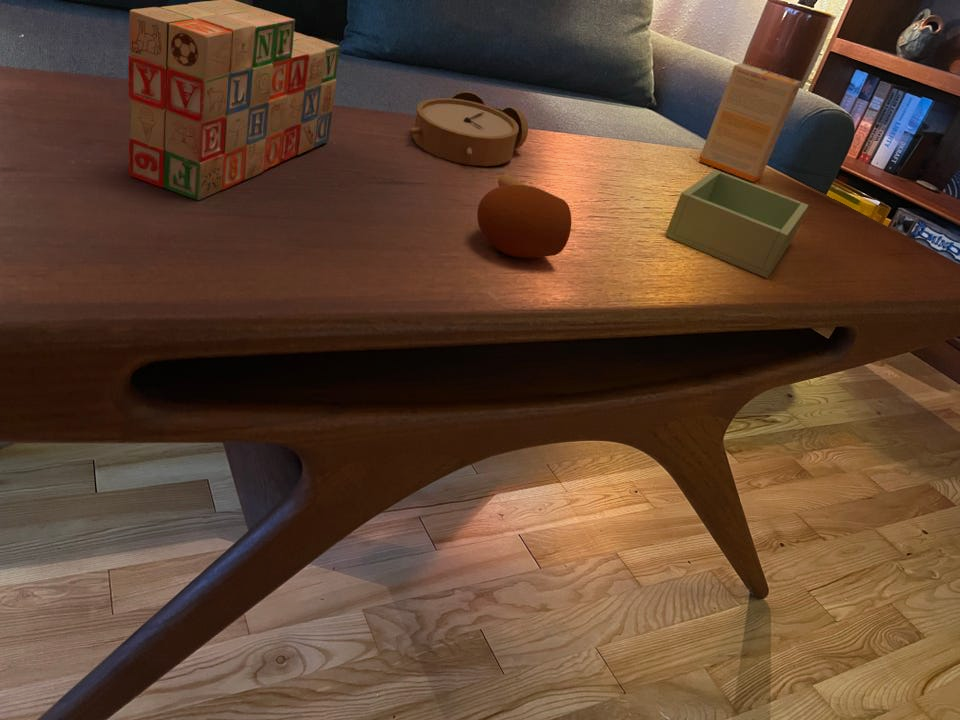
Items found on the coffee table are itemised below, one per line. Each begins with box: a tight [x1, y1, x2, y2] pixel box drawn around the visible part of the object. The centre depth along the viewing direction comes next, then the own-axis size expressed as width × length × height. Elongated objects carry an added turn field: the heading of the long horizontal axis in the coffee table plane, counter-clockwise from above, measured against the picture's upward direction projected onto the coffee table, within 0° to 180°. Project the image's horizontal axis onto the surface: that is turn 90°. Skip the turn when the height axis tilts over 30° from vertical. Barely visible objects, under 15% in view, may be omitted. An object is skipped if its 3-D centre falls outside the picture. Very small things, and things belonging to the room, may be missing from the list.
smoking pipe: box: [476, 173, 572, 259], centre depth 69 cm, size 7×18×6 cm, turn 7°
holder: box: [664, 169, 809, 279], centre depth 80 cm, size 11×14×5 cm
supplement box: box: [698, 62, 803, 183], centre depth 103 cm, size 8×5×13 cm, turn 58°
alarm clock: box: [408, 91, 529, 167], centre depth 86 cm, size 11×5×15 cm
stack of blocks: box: [127, 0, 341, 201], centre depth 65 cm, size 21×6×12 cm, turn 162°
